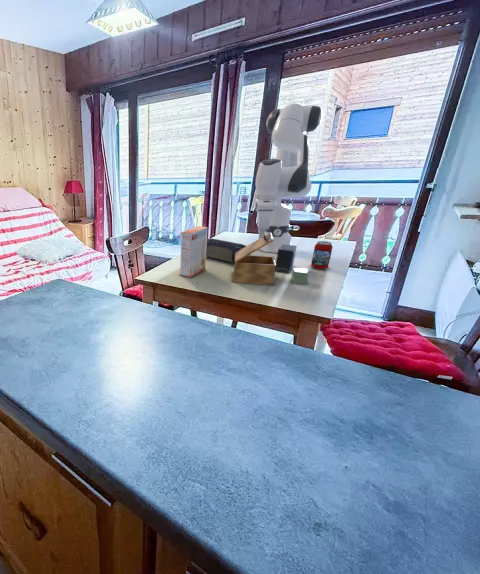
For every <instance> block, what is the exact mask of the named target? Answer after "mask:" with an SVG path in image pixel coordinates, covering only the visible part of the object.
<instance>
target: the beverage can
mask: <svg viewBox="0 0 480 574" xmlns="http://www.w3.org/2000/svg"><path fill="white" fill-rule="evenodd" d="M332 251H333V244H332V242H330V241H326V240H325V241H324V240H321V241H317V242H316V244H315V245H314V247H313V252H312V258H311V264H310V266H311V267H312V268H313V269H316V270H325V269H328V268H329V265H330V260H331V257H332V253H333V252H332Z"/></svg>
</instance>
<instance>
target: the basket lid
mask: <svg viewBox="0 0 480 574" xmlns="http://www.w3.org/2000/svg"><path fill="white" fill-rule="evenodd" d="M272 241H274V239H273V236H272V233H271V232H270V233H268V234H266V235H265V234H264V238H260V239H259V238H258V239H256V240H255V241H252V242H251V243H250V244H247V245H246V247H244V248H243V249H241V250H239V251H238V252H236V253H235V262H238V261H239V260H241V259H243V258H245V257H246V256H248V255H252V254H253V253H255V252H257V251H259V250H258V249H260V248H262V247H264V246H265V245H267V244H269V243H271V242H272Z"/></svg>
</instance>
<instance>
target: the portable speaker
mask: <svg viewBox="0 0 480 574" xmlns="http://www.w3.org/2000/svg"><path fill="white" fill-rule="evenodd" d="M246 246H247V245H246V244H243V243H238V242H233V241H227V240H224V239H223V240H222V239H217V238H207V245H206V258H212V259H215V260H219V261H224V262H228V263H233V264H235V253H236V252H238V251H239V250H241V249H243V248H244V247H246Z"/></svg>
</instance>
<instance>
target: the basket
mask: <svg viewBox="0 0 480 574" xmlns="http://www.w3.org/2000/svg"><path fill="white" fill-rule="evenodd" d="M275 259H276V258H275V257H274V256H271V255H269V256H268V255H252V254H250V255H248V256H246V257H245V258H243V259H241V260H239V261H238V262H235V263H234V265H233V276H232V282H233V283H239V284H243V283H244V284H252V285H253V284H254V285H265V286H274V282H275V276H276V271H275V270H276V260H275Z"/></svg>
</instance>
